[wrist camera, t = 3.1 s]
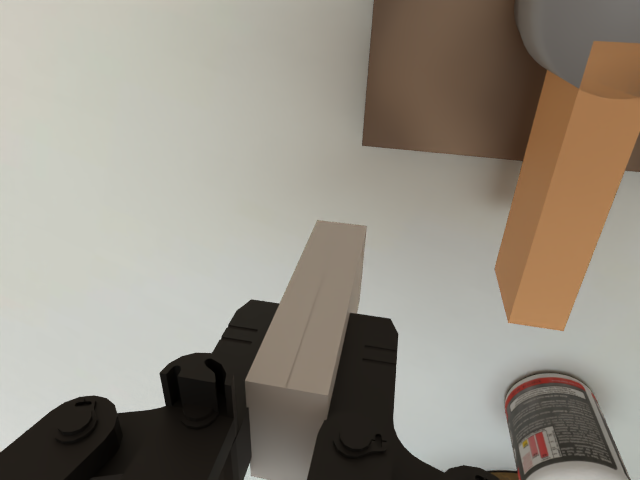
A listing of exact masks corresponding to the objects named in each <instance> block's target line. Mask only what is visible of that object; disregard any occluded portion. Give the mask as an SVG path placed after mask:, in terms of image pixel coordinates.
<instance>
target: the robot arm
mask: <svg viewBox="0 0 640 480" xmlns="http://www.w3.org/2000/svg"><path fill="white" fill-rule="evenodd" d="M366 227H367V226H362V225H354V224H345V223H337V222H328V221H320V220H317V222H316V224H315V227H314V229H313V231H312V233H311V235H310V238H309V240H308V242H307V244H306V247H305V249H304V251H303V253H302V255H301V258H300V260H299V262H298V264H297V266H296V269H295V271H294V273H293V275H292V277H291V280H290V282H289V284H288V286H287V289H286V291H285V293H284V295H283V297H282V300H281V302H280V304H278V303H272V302H265V301H258V300H250V301H249V302H248V303H246V304H245V305H244V306H242V307H241V308H240V309H238V310H237V311H236V313H235V314H234V316H233V318H232V320H231V321H230V323H229V325H228V328H226V330H225V332H224V333H223V335H222V338H221V340H219V342H218V344H217V345H216V347H215V349H214V351H213V352H212V354H211V353H193V354H189V355H185V356H182V357H180V358H178V359H176V360H174V361H172V362H171V363H169V364H168V365H167V366H166V367H165V368H164V369H163V370H162V371H161V372H160V378H161V383H162V388H163V393H164V399H165V404H166V406H164V407H161V408H157V409H152V410H145V411H135V412H125V413H117V411H116V408H115V405H114V404H113V403H112V402H111V401H109V400H108V399H107V398H103V397H99V396H84V397H78V398H76V399H73V400H70V401H67V402H65V403H63V404H61V405H60V406H58V407H57V408H55V409H54V410H52V411H50V412H49V413H48V414H47V415H46V416H44V417H43V418H42V419H41V420H40V421H38V422H37V423H36V424H35V425H33V426H32V427H31V428H30V429H29V430H27V431H26V432H25V433H24V434H22V435H21V436H20V437H19V438H18V439H16V440H15V441H14V442H13V443H11V444H10V445H9V446H8V447H7V448H5V449H4V450H3V451H2V452H0V480H244V477H245V474H246V471H247V469H248V466H249V463H250V468H251V476H254V477H258V478H263V479H268V480H500V479H499V478H498V477H496V476H495V475H493V474H491V473H489V472H487V471H485V470H483V469H481V468H477V467H471V466H464V465H463V466H459V467H454V468H450V469H448V470H447V471H446V472H445V473H444V472H442V471H440V470H438V469H436V468H434V467H432V466H430V465H428V464H426V463H424V462H423V461H421V460H419V459H418V458H416V457H415V456H413V455H412V454H411V453H410V452H409V451H408V450H407V449H406V448H405V447H404V446H403V445H402V443H401V442H400V440H399V439H398V437H397V435H396V432H395V429H394V424H393V411H394V395H395V378H396V362H397V346H398V333H397V331H396V329H395V327H394V325H393V323H392V321H391V319H389V318H382V317H375V316H368V315H362V314H357V310H358V305H359V300H360V290H361V279H362V269H363V258H364V248H365V237H366Z"/></svg>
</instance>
